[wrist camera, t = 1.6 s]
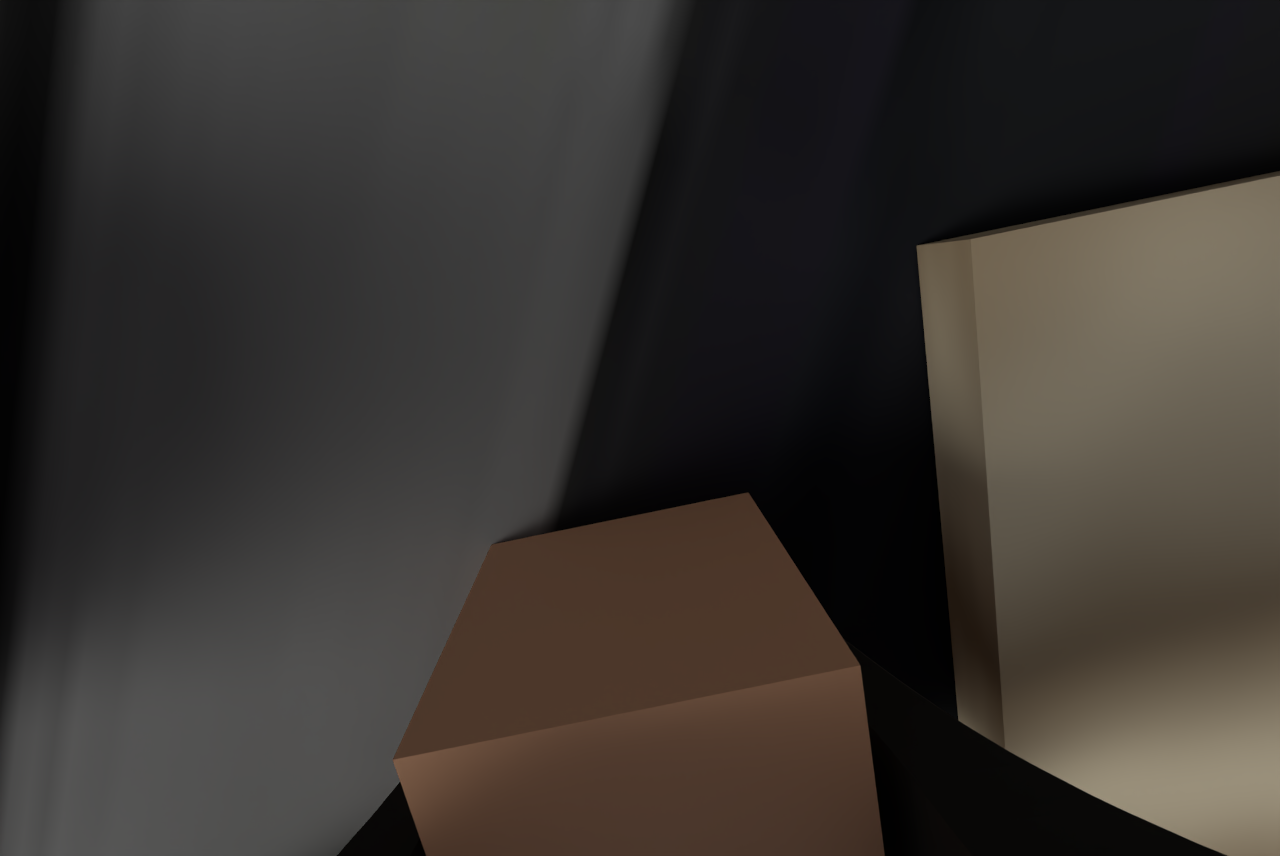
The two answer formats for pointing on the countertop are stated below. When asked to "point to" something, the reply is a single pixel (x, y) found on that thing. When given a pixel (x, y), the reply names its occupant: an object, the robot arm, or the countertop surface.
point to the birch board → (1119, 499)
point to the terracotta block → (644, 701)
